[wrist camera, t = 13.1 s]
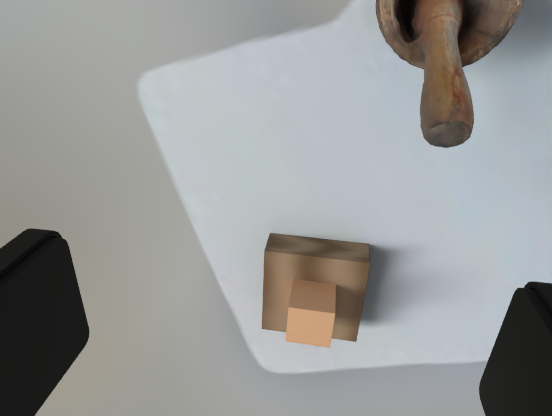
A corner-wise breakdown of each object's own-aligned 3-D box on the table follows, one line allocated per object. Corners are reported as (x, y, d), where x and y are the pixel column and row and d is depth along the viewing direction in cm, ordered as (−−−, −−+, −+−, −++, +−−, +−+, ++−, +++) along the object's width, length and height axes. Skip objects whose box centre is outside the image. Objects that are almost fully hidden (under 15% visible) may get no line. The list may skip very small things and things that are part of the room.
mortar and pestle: (477, 64, 39) (587, 124, 21) (384, 90, 41) (415, 164, 24) (461, -75, 34) (587, -146, 17) (358, -37, 36) (373, -64, 19)
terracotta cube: (335, 284, 48) (335, 313, 44) (330, 316, 50) (329, 347, 46) (293, 278, 48) (288, 307, 44) (290, 311, 51) (285, 341, 46)
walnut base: (368, 244, 49) (370, 263, 46) (355, 319, 55) (356, 341, 52) (270, 233, 51) (264, 251, 47) (266, 307, 56) (261, 328, 53)
